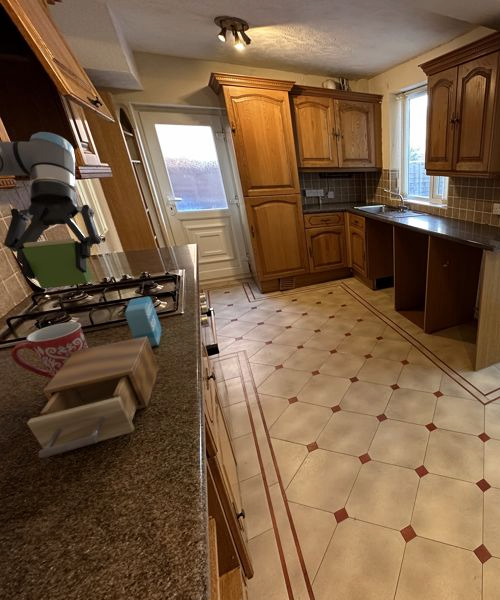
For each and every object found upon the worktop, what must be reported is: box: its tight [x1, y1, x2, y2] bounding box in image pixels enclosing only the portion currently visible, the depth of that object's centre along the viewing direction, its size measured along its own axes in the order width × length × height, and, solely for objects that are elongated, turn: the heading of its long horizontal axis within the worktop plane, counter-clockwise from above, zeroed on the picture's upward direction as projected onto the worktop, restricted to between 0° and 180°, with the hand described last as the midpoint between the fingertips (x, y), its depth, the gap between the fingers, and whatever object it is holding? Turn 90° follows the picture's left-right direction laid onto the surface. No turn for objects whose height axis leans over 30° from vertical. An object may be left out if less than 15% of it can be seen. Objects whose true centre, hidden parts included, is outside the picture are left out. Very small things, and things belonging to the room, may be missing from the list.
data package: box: [124, 296, 163, 348], centre depth 93 cm, size 12×4×12 cm, turn 30°
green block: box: [22, 238, 94, 290], centre depth 73 cm, size 4×8×10 cm, turn 117°
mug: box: [10, 322, 89, 380], centre depth 76 cm, size 13×9×14 cm
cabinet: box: [42, 337, 160, 411], centre depth 72 cm, size 16×14×10 cm
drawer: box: [26, 375, 139, 460], centre depth 62 cm, size 21×12×8 cm, turn 26°
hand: (55, 272), depth 71 cm, fingers closed on green block, 8 cm apart
